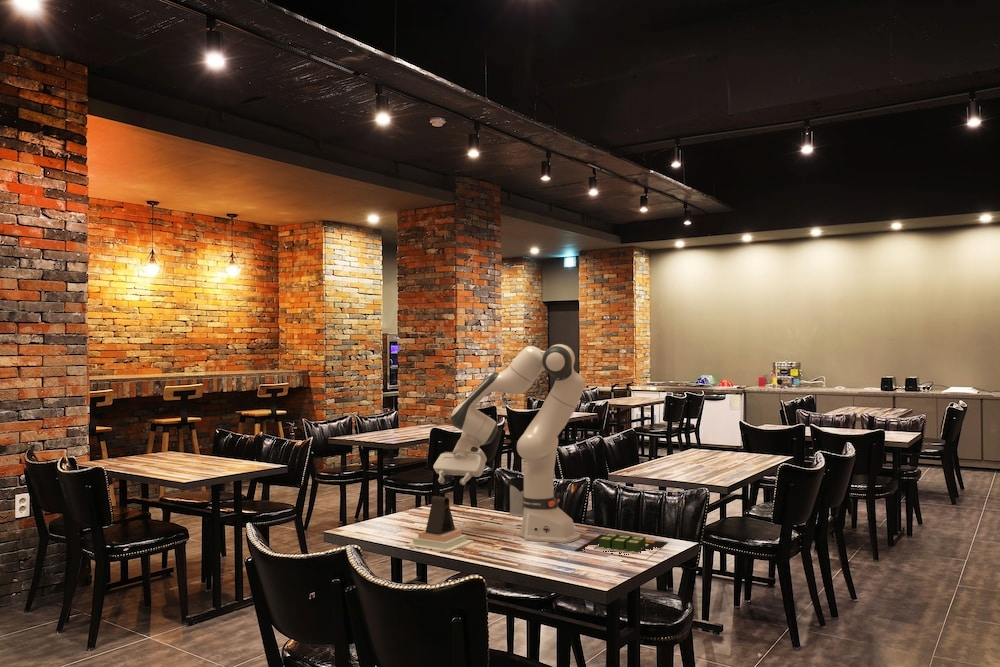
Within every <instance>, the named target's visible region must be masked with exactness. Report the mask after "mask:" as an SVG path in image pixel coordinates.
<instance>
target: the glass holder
mask: <svg viewBox="0 0 1000 667" xmlns="http://www.w3.org/2000/svg"><path fill="white" fill-rule="evenodd" d="M509 479H510V480H509V514H510V515H514V516H523V496H524V476H520V477H519V476H518V477H517V476H516V477H511V478H509ZM509 514H508V515H509ZM510 515H509V516H510Z"/></svg>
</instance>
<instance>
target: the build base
mask: <svg viewBox="0 0 1000 667" xmlns="http://www.w3.org/2000/svg"><path fill="white" fill-rule="evenodd" d="M462 532H463V531H462V529H460V528H455V530H452V531H449V532H445V533H442V534H434V533H429V532H426V529H425V530H422V531H420V532H417V533H418V536H417V537H414V538H412V542H409V543H407V544H405V547H410V546H414V547H413V548H416V547H420V548H419V549H423V548H426V549H425V550H429V549H432V550H431V551H436V550H437V552H442V553H443V552H444V553H450V551H451V552H453V551H455V549H456V550H458V549H460V548H463V547H465V546H467V544H468V545H470V544H472V543H475V541H474V540H472V539H468V537H467V534H462ZM471 542H472V543H471ZM469 543H470V544H469ZM464 545H465V546H464ZM462 546H463V547H462ZM457 548H458V549H457Z"/></svg>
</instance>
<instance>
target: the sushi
mask: <svg viewBox="0 0 1000 667" xmlns="http://www.w3.org/2000/svg"><path fill="white" fill-rule="evenodd" d="M668 543H669V542H668V541H661V540H652V539H646V537H644V536H636V535H634V536H633V535H627V534H619V533H613V532H607V533H606V534H603V533H602V534H599V535H598V536H596V537H594V538H593V539H591V540H589V541H588V542H586V543H584V544H582V545H581V546H579V547H578V548H576V549H574V551H575V552H579V551H583V550H582V549H584V550H585V547H587V546H588V545H598V544H599V547H604V548H600V549H601V550H603V549H607V548H611V549H612V550H609V551H610V552H619V554H621V553H622V552H623V551H622V550H624V549H625V550H624V551H625V552H623V553H626V552H630V551H634V552H633V553H638V551H639V550H640V551H639V552H640V553H641V551H646V550H645V549H649V550H650V549H651V550H653V547H655V548H656V547H657V548H661V547H662V548H663V547H665V546H666V545H667V544H668ZM664 545H665V546H664ZM599 547H598V548H599ZM643 547H644V548H643ZM641 548H643V549H641ZM662 548H661V549H662ZM614 549H618V550H616V551H615V550H614ZM609 551H608V552H609ZM603 552H604V551H603ZM605 552H607V551H605ZM620 552H621V553H620ZM583 553H586V552H585V551H584V552H583ZM611 554H613V553H611ZM624 555H625V554H624ZM626 555H627V554H626ZM628 555H629V554H628ZM619 556H620V555H619ZM621 556H622V555H621Z"/></svg>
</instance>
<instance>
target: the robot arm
mask: <svg viewBox="0 0 1000 667" xmlns="http://www.w3.org/2000/svg"><path fill="white" fill-rule="evenodd" d="M576 357H577V356H576V352H575V351H574V349H573V348H572V347H571V346H569V345H568V344H565V343H557V344H553V345H551V346H550V347H549V348H546V349H545V350H542V349H541V348H538V347H536V346H534V345H527V346H525V347H524V348H523V349H522V350H521V351H519V353H518V354H517V355H516V356H515V357H514V359H513V360H512V361H511V362H510V364H509V365H508V366H507V367H506V368H505V369H504V370H501V371H499V372H492V373H491V374H490V375H489V376H488V377H487V378H485V379H484V380H483V381H482V382H481V383H480V384H479V385H478V386H477V387H476V388H475V389H474V390H473V391H472V392H471V393H470V394H469V395H468V396H467V397H466V398H464V400H462V401H461V402H460V403H459V404H457V406H455V407H454V409H453V410H452V412H451V414H450V417H449V418H450V421H451V424H452V426H453V427H454V428H456V429H458V430H460V431H461V434H460V435H461V436H460V438H459V439H458V440H457V442H456V444H455V447H454V449H453V450H452V451H444V452H442V453H440V454H439V456H438V458H437V459H436V461H435V462H434V464H433V465H432V466H433V470H434V471H435V473H436V474H438V475H439V477H438V479H437V481H438V483H439V484H444V482H445V478H444V477H445V475H449V476H450V475H452V476H461V478H460V480H459V484H460V486H461V485H462V486H465V485H466V483H467V482H468V481H469V480H471V478H472V477H475V478H477V477H478V478H479V477H480V476H482V475H483V473H484V471H485V467H486V463H487V460H488V459H487V456H486V453H485V452H484V451H483V450H482V449H481V448H480V447H481V446H486V445H488V444H490V443H492V442H493V441H494V439H495V438H496V436H497V433H498V432H499V428H498V422H497V421H495V419H493V418H491V417H490V416H488V415H487V414H485V413H484V412H482V411H480V410H479V409H477V408H476V406H477V404H479V403H480V402H481V400H483V399H484V398H485V397H486V396H487V395H488V394H489V393H494V392H495V393H503V394H507V395H514V396H515V395H516V396H517V395H522V394H524V393H526V392H527V391H528V390H529V389H530V388H531V387H532V385H533V384H534V383H535V381H536V380H537V379H538V377H539V376H540V375H541V374H542V373H543V372H546V373H548V374H549V375H550V377H552V378H553V380H554V384H553V386H552V388H551V389H550V392H549V393H548V395H547V396H546V398H545V399H544V402H543V404H542V405H541V408H539V411H538V412H537V413H536V415H535V416H534V417H533V419H532V420H531V422H530V423H529V425H527V427H526V429H525V430H524V432H523V434H522V435H521V436H520V437H519V438H518V441H517V443H516V451H517V453H518V455H519V456H520V457H521V458H522V459H523V460H525V461H526V466H525V470H524V472H523V477H524V496H523V517H522V522H521V528H520V532H519V535H520V537H521V538H524V540H525V541H531V542H532V541H534V542H546V543H548V542H549V543H560V544H566V543H567V544H568V543H571V542H574V541H577V540H578V539H580V538H581V532H579V531H575V523H574V520H573V518H572V517H570V516H569V515H568V514H567V513H566V512H564V511H563V510H562V509H561V508H560V507H559V505H558V504H559V503H560V502H561V501H560V500H561V499H560V498H558V499H557V498H556V497H555V495H554V474H555V465H556V458H557V452H558V451H557V449H558V446H559V435H560V434H561V432H562V431H563V429H564V428H565V427H566V426H567V424H568V422H569V420H570V418H571V417H572V415H573V413H574V411H575V410H576V408H577V406H578V404H579V402H580V400H581V397H582V395H583V392H584V390H585V387H586V382H585V379H584V377H583V376H582V375H581V374H580V373H578V372H577V371H575V369H574V366H575V364H576V360H577V358H576ZM462 476H464V477H463V478H462Z"/></svg>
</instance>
